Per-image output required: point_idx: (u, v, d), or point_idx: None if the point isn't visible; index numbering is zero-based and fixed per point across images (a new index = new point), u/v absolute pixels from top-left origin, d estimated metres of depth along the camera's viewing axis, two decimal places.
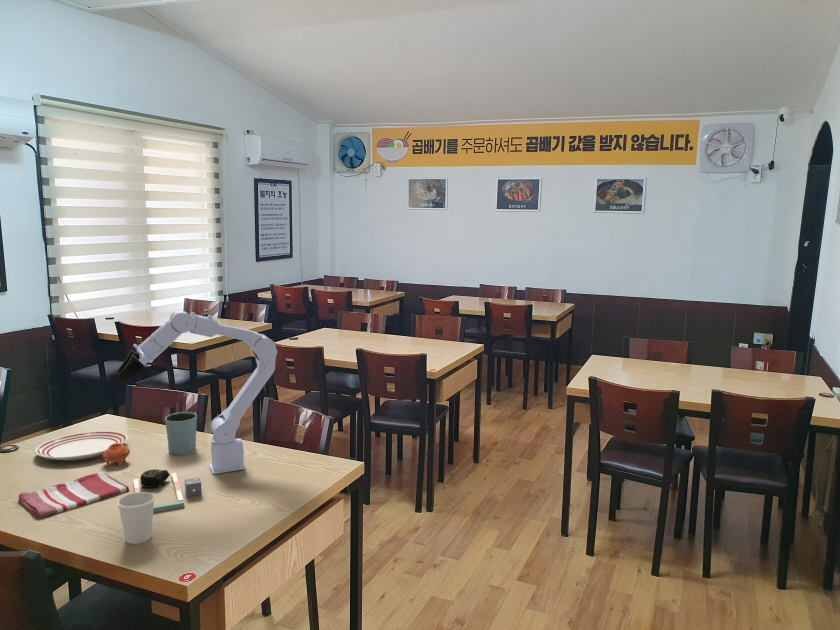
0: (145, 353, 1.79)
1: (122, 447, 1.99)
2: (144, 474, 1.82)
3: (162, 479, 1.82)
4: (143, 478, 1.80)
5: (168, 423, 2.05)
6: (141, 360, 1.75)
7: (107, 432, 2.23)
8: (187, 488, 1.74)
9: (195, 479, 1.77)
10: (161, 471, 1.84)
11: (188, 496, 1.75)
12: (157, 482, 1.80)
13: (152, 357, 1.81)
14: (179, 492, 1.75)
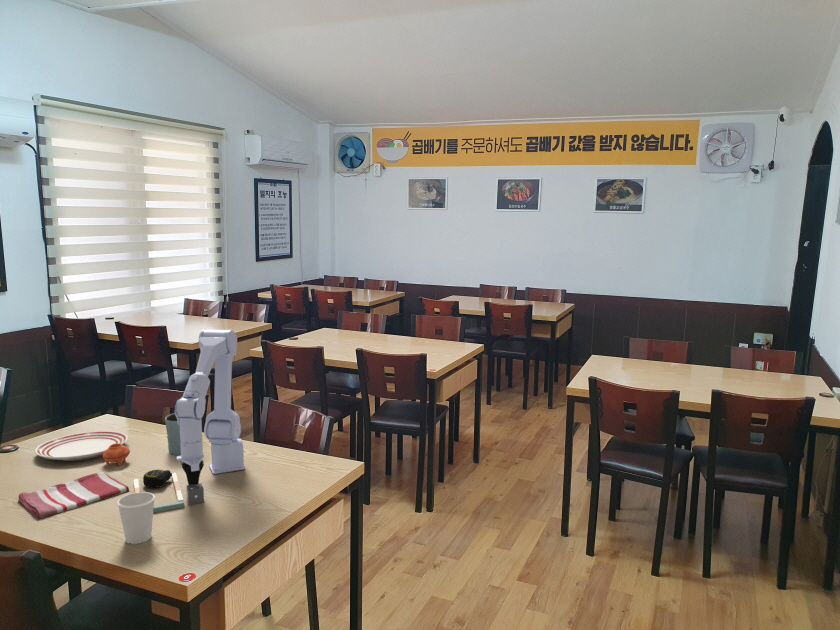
0: (191, 458, 1.71)
1: (122, 447, 1.99)
2: (147, 474, 1.82)
3: (165, 479, 1.82)
4: (146, 478, 1.80)
5: (168, 423, 2.05)
6: (193, 469, 1.67)
7: (107, 432, 2.23)
8: (189, 494, 1.70)
9: (197, 485, 1.73)
10: (164, 471, 1.84)
11: (190, 502, 1.70)
12: (160, 482, 1.80)
13: (199, 454, 1.72)
14: (179, 492, 1.75)
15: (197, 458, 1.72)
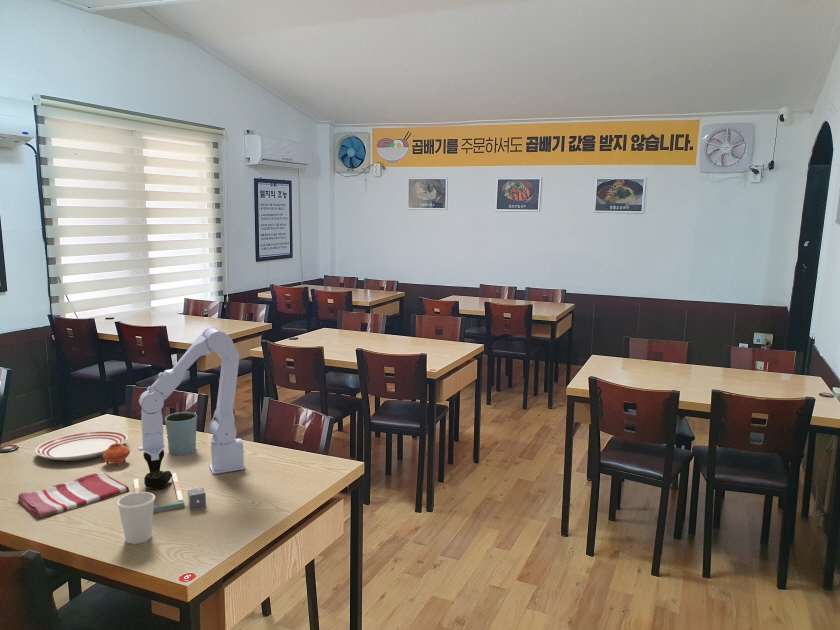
0: (152, 448, 1.82)
1: (122, 447, 1.99)
2: (148, 476, 1.80)
3: (167, 480, 1.81)
4: (148, 480, 1.79)
5: (168, 423, 2.05)
6: (153, 458, 1.78)
7: (107, 432, 2.23)
8: (191, 499, 1.67)
9: (199, 490, 1.70)
10: (164, 472, 1.83)
11: (192, 507, 1.67)
12: (164, 483, 1.79)
13: (160, 445, 1.83)
14: (179, 492, 1.75)
15: (158, 448, 1.82)
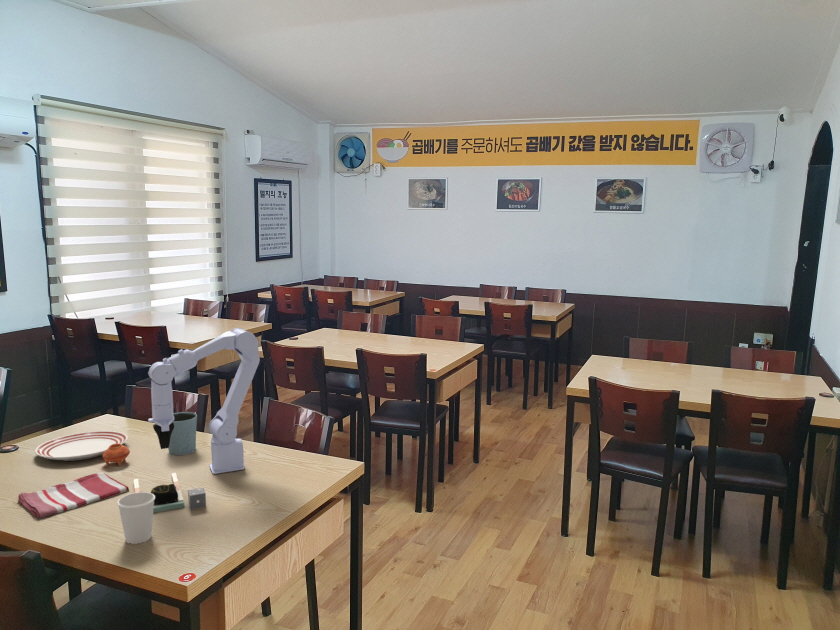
0: (162, 419, 1.81)
1: (122, 447, 1.99)
2: (156, 491, 1.70)
3: None
4: (159, 495, 1.69)
5: None
6: (163, 429, 1.78)
7: (107, 432, 2.23)
8: (191, 499, 1.67)
9: (199, 490, 1.70)
10: (170, 485, 1.74)
11: (192, 507, 1.67)
12: (176, 496, 1.71)
13: (170, 416, 1.83)
14: (179, 492, 1.75)
15: (168, 420, 1.82)
